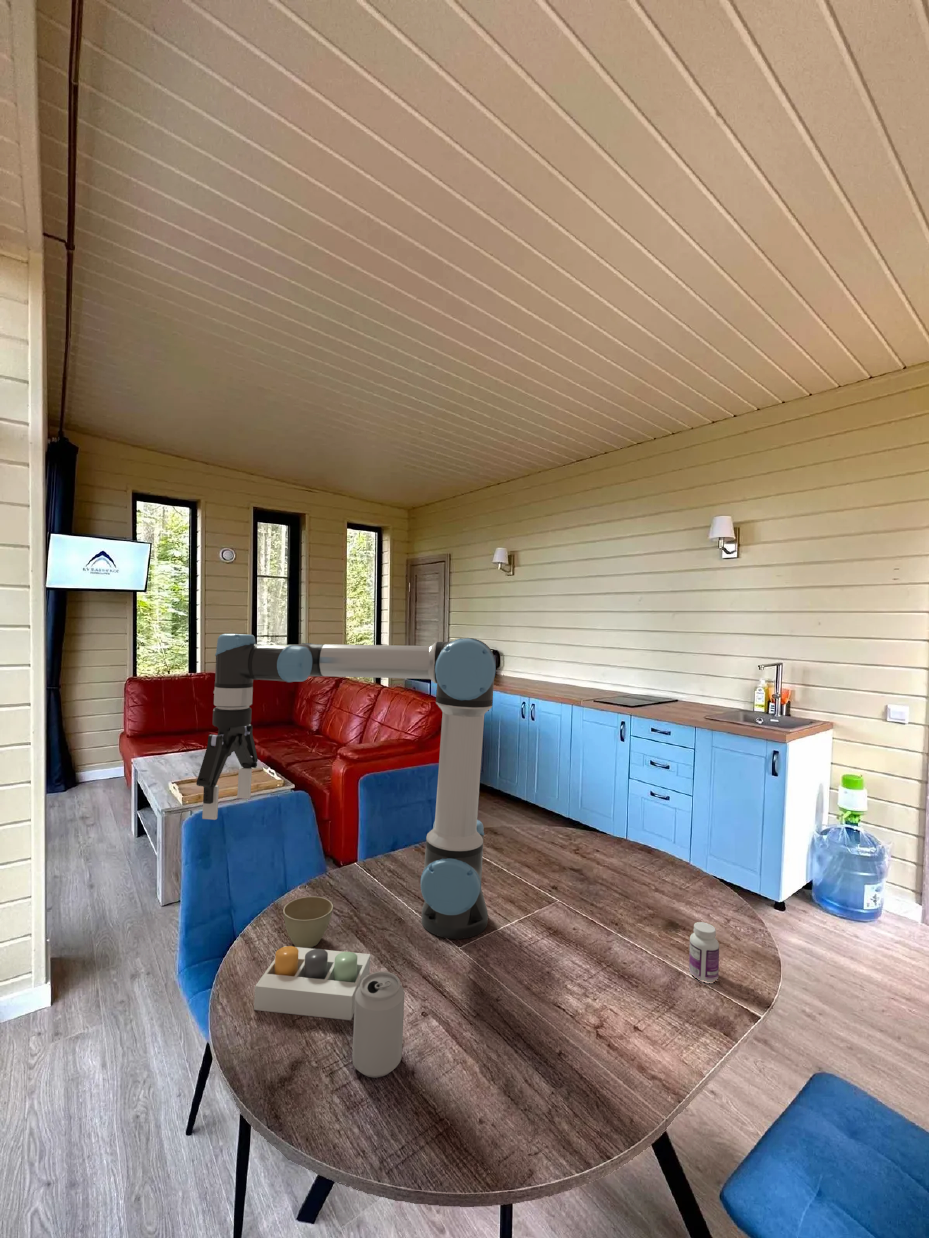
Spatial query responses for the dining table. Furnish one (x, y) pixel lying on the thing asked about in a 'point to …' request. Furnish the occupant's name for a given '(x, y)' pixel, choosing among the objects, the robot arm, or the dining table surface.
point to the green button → (345, 967)
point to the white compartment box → (310, 990)
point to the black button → (316, 964)
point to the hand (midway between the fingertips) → (227, 807)
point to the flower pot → (307, 920)
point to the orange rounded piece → (286, 961)
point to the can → (378, 1024)
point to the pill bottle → (704, 952)
